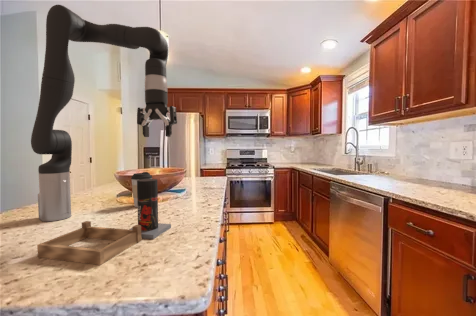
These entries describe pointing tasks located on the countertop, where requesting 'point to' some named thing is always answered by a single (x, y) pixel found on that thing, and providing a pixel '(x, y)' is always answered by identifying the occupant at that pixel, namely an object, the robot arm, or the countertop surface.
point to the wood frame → (63, 251)
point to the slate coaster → (155, 231)
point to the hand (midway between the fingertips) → (157, 136)
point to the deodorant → (147, 204)
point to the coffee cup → (134, 183)
